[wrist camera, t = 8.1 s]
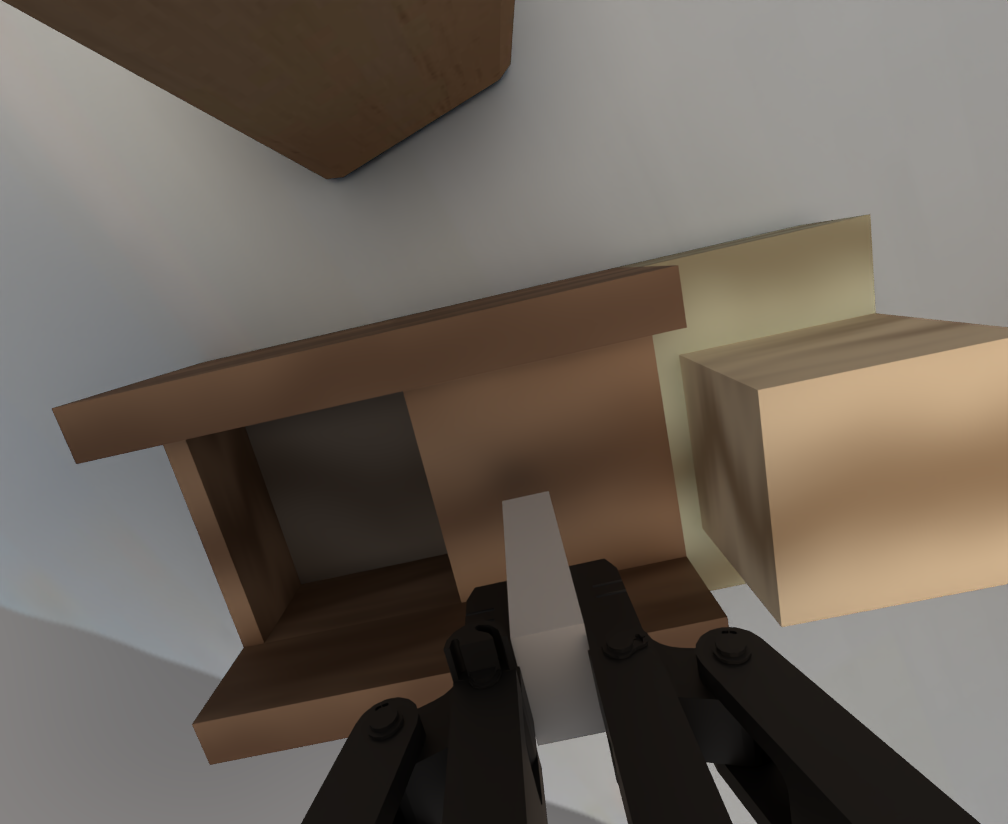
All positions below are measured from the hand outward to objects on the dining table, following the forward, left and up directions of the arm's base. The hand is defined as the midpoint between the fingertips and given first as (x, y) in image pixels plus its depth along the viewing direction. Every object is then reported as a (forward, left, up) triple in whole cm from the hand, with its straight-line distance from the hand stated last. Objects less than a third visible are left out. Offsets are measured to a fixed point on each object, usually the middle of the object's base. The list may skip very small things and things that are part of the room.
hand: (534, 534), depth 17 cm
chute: (0, 0, -11) cm, 11 cm away
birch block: (+1, +11, -6) cm, 13 cm away
